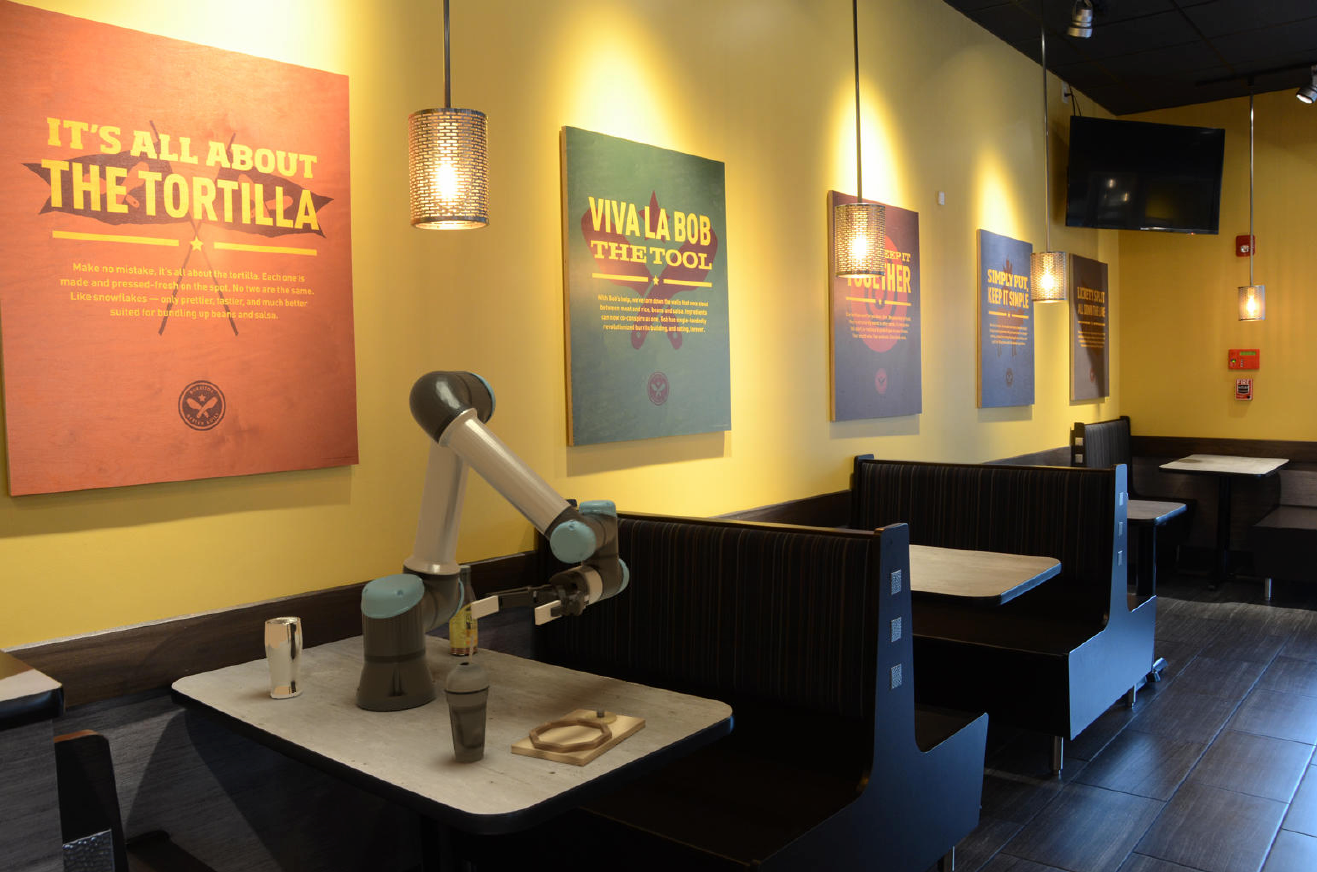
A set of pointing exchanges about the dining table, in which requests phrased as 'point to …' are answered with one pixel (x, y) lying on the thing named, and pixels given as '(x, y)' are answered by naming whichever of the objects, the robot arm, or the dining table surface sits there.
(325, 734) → the dining table surface
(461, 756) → the beverage cup
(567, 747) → the board
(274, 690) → the beer glass
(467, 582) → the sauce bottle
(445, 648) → the dining table surface
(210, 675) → the dining table surface
